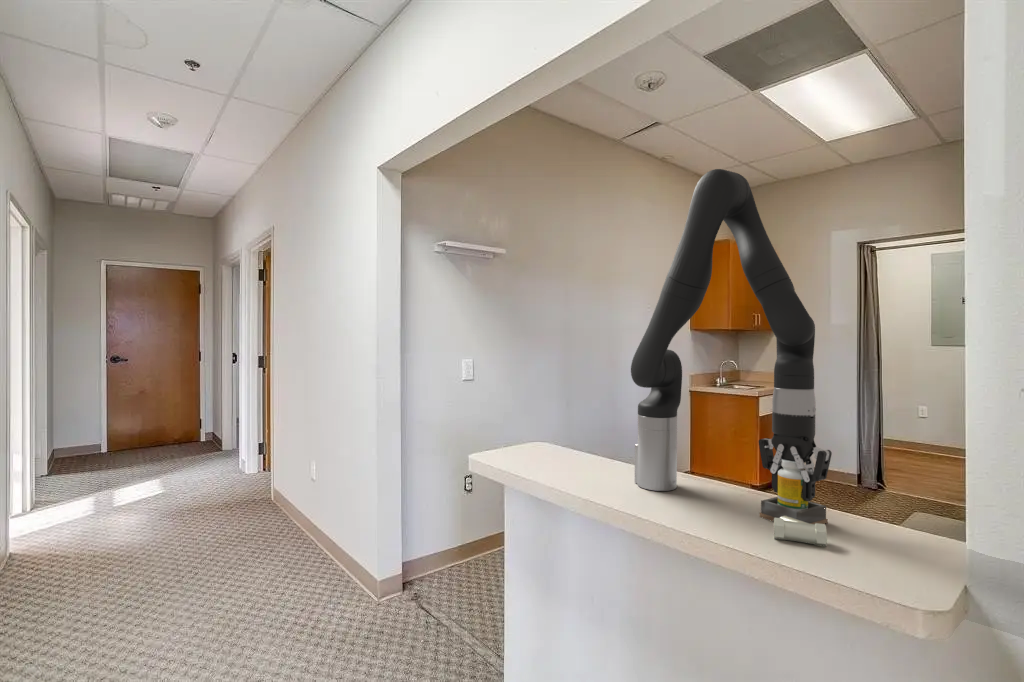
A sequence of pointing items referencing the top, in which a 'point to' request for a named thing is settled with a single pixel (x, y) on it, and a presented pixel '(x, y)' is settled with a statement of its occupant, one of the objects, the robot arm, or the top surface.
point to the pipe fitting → (799, 531)
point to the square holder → (793, 512)
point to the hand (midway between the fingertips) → (792, 495)
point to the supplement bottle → (790, 486)
